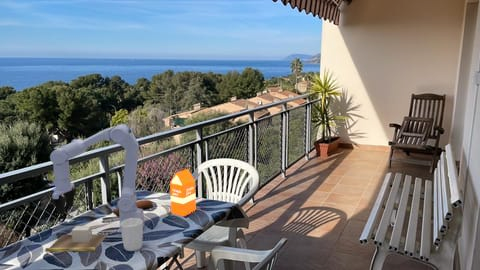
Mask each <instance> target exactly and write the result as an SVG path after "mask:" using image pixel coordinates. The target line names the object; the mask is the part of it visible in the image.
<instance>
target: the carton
mask: <svg viewBox="0 0 480 270" xmlns="http://www.w3.org/2000/svg"><path fill="white" fill-rule="evenodd" d="M92 227H93V226H92V225H75V226H74V228H72V229H71V235H72V240H73V242H89V241H90V240H91V239H92V234H93V230H92V229H93V228H92Z"/></svg>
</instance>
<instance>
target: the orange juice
mask: <svg viewBox="0 0 480 270" xmlns="http://www.w3.org/2000/svg"><path fill="white" fill-rule="evenodd" d="M169 183H170V184H169V185H170V187H169V188H170V209H171V211H170V212H171V214H173V215H177V216H180V217H185V216H187V215H190V214H192V213H194V212H195V210H197V207H196V204H197V203H196V198H197V197H196V181H195V179H194V177H193V175H192V173H191V171H190V170H189V168H187V169H186V168H185V169H183V170H180V171H178V172H175V174H174V176H173V177H172V179H171V180H170V182H169ZM193 211H194V212H193ZM191 212H192V213H191Z"/></svg>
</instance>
